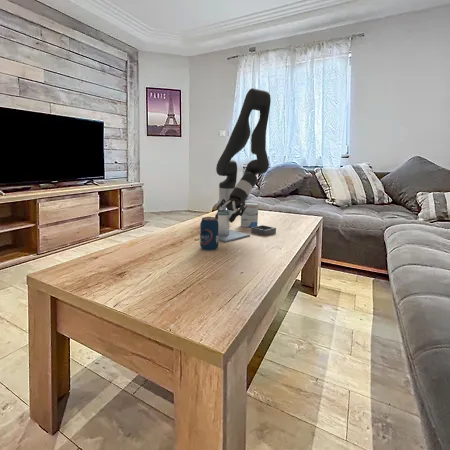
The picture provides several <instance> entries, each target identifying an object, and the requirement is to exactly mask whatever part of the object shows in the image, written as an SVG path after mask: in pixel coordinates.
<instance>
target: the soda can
mask: <svg viewBox="0 0 450 450" xmlns="http://www.w3.org/2000/svg"><path fill="white" fill-rule="evenodd" d="M199 223H200V225H199V226H200V231H199V232H200V233H199V237H200V238H199V246H200V248H201V250H203V251H206V252H212V251H216V250H217V249H218V247H219V241H218V228H219V223H218V220H217V218H215V216H214V217H213V216H205V217H201V220H200V222H199Z"/></svg>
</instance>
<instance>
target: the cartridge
mask: <svg viewBox="0 0 450 450" xmlns="http://www.w3.org/2000/svg"><path fill="white" fill-rule="evenodd" d="M217 212H218V211H217ZM217 221H218V223H219V228H218V235H222V236H225V235H229V230H230V221H229V212H227V211H220V212H218V220H217Z"/></svg>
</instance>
